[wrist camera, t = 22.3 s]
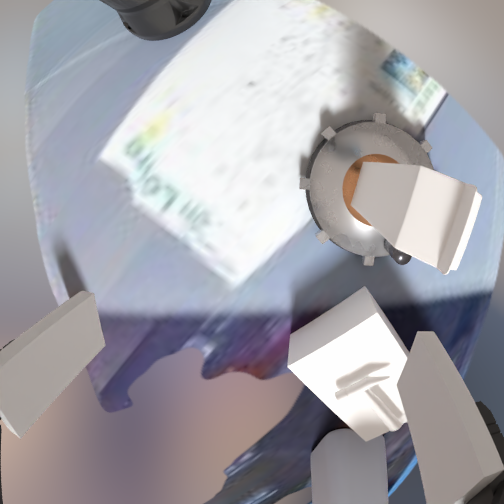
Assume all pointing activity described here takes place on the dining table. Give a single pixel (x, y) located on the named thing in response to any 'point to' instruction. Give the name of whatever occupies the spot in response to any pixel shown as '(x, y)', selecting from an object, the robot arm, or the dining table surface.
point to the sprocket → (345, 180)
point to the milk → (418, 210)
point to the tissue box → (353, 364)
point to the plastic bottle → (349, 469)
